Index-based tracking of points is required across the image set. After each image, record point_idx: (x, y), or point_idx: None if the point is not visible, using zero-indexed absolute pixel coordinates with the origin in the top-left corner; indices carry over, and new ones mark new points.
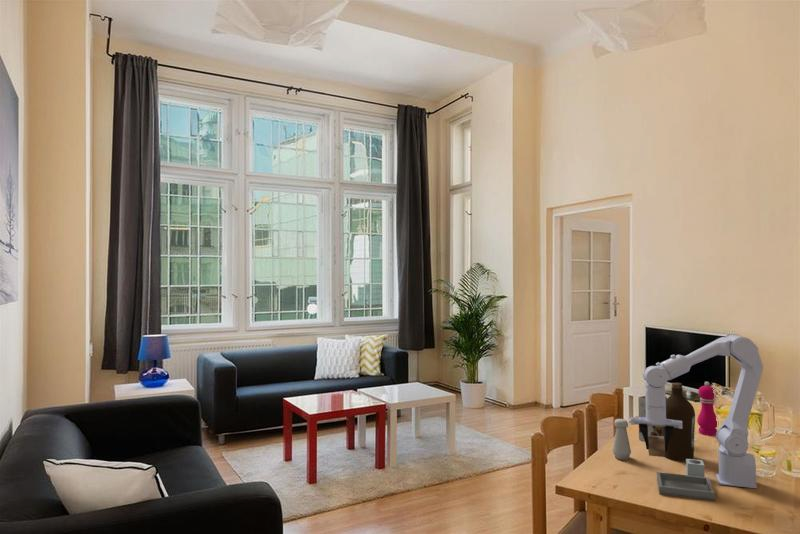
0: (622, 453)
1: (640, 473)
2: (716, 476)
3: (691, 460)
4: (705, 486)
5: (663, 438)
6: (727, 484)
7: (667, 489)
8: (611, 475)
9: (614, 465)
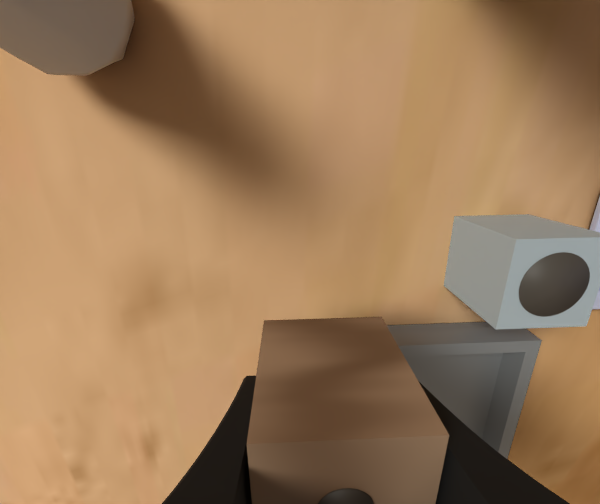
0: (75, 74)
1: (233, 279)
2: (596, 217)
3: (540, 267)
4: (493, 367)
5: (427, 500)
6: (597, 308)
7: None
8: (109, 350)
9: (85, 203)
